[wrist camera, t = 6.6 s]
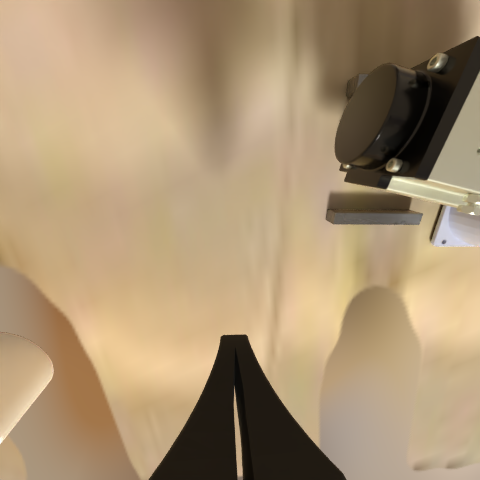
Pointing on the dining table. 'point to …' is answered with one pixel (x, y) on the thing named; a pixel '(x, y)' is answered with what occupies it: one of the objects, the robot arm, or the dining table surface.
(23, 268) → the dining table surface
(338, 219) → the guide rails
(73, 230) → the dining table surface
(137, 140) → the dining table surface
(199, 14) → the dining table surface
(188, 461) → the robot arm
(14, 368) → the base with upright slab
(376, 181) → the pneumatic valve
